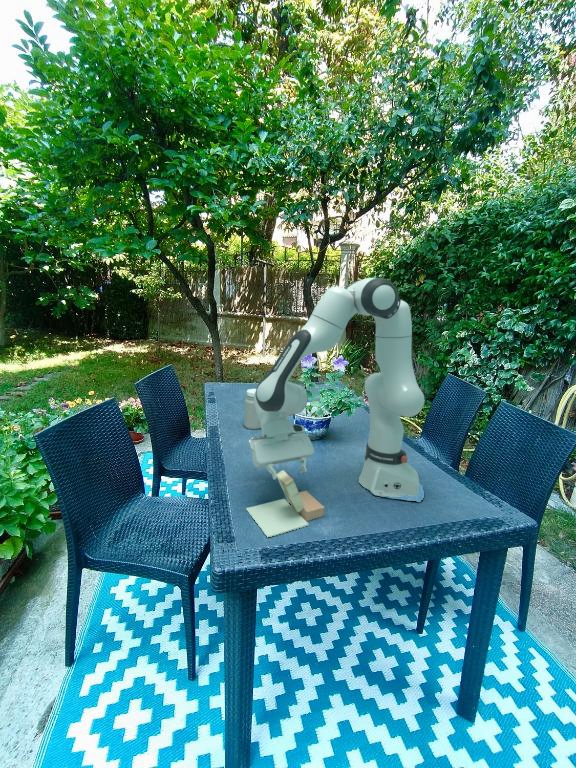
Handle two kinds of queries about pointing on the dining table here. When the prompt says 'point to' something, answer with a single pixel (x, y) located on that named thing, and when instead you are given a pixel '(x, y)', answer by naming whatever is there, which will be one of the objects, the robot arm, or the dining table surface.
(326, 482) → the dining table surface
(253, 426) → the jar
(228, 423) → the dining table surface
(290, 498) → the birch block
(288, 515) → the rubber mat
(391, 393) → the robot arm
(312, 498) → the terracotta step
